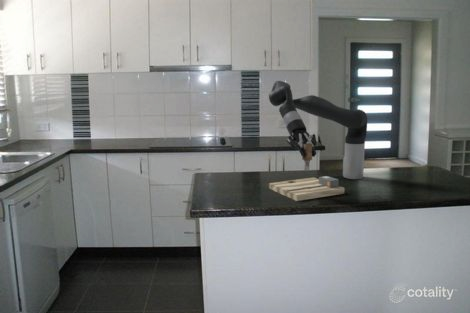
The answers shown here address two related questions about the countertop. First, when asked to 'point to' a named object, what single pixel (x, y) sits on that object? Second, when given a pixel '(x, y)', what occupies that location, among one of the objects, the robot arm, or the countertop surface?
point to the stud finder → (328, 181)
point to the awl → (309, 154)
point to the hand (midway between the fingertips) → (309, 155)
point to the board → (304, 189)
